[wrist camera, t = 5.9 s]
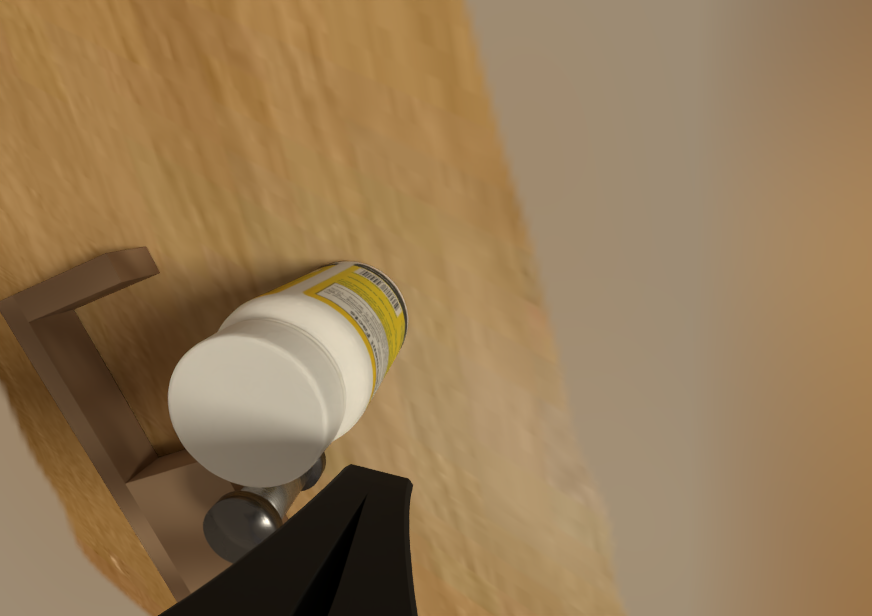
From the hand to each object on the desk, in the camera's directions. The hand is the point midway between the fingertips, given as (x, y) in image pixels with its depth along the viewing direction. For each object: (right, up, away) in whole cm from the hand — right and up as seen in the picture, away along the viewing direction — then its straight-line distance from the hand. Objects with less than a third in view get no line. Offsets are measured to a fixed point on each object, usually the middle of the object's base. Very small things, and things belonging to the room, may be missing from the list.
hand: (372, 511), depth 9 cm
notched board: (-11, -2, +12) cm, 16 cm away
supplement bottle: (-2, +4, +9) cm, 10 cm away
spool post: (-5, -3, +11) cm, 13 cm away
